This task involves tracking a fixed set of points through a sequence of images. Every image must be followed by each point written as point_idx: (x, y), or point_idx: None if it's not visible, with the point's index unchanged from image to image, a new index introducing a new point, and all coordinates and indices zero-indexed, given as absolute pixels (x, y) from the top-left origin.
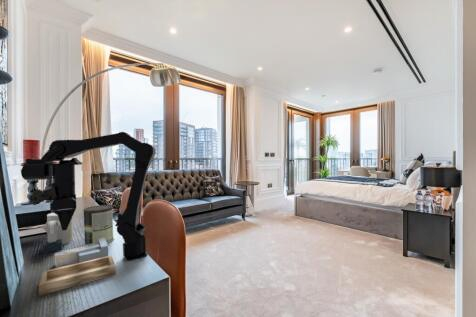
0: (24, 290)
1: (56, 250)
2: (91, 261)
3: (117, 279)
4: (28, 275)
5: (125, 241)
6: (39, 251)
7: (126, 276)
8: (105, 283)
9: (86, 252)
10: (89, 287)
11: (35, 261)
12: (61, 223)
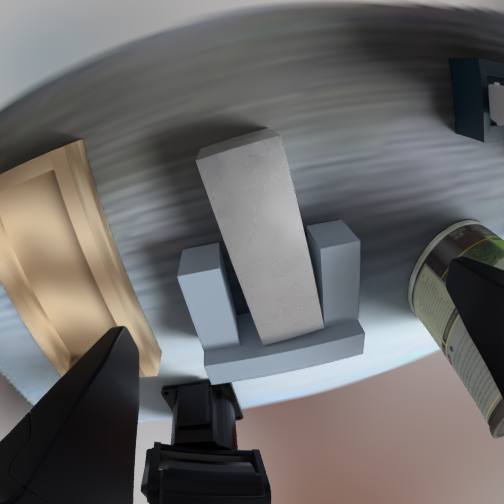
0: (30, 105)
1: (457, 111)
2: (117, 321)
3: (46, 361)
4: (178, 43)
5: (154, 445)
6: (485, 49)
7: (59, 377)
8: (29, 338)
9: (218, 298)
10: (12, 306)
11: (371, 31)
12: (59, 393)
